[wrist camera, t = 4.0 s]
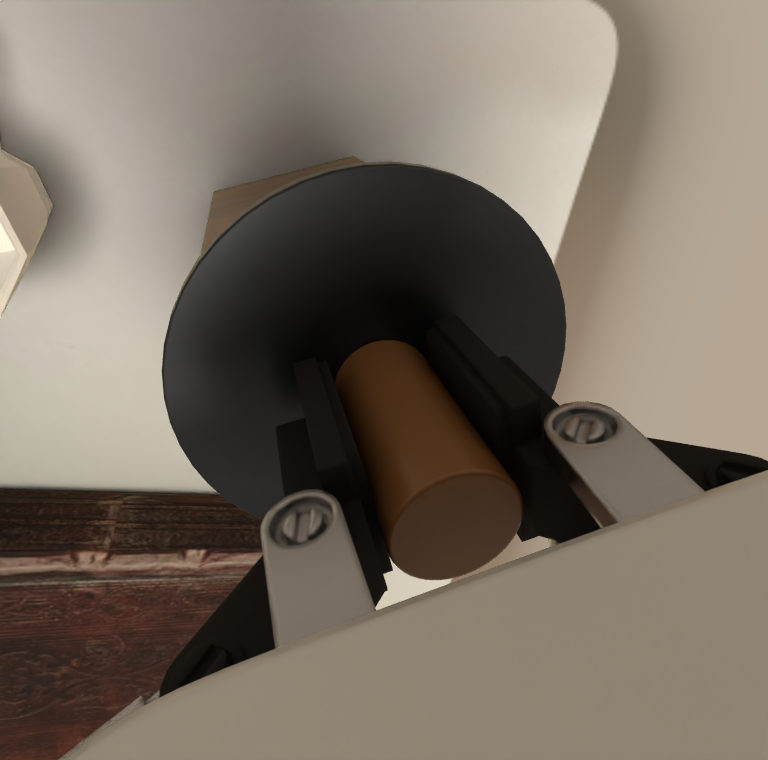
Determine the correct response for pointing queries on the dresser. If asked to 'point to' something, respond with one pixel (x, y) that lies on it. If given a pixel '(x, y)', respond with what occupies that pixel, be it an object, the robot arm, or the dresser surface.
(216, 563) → the book
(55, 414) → the dresser surface
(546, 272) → the lid
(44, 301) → the dresser surface
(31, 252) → the cup
